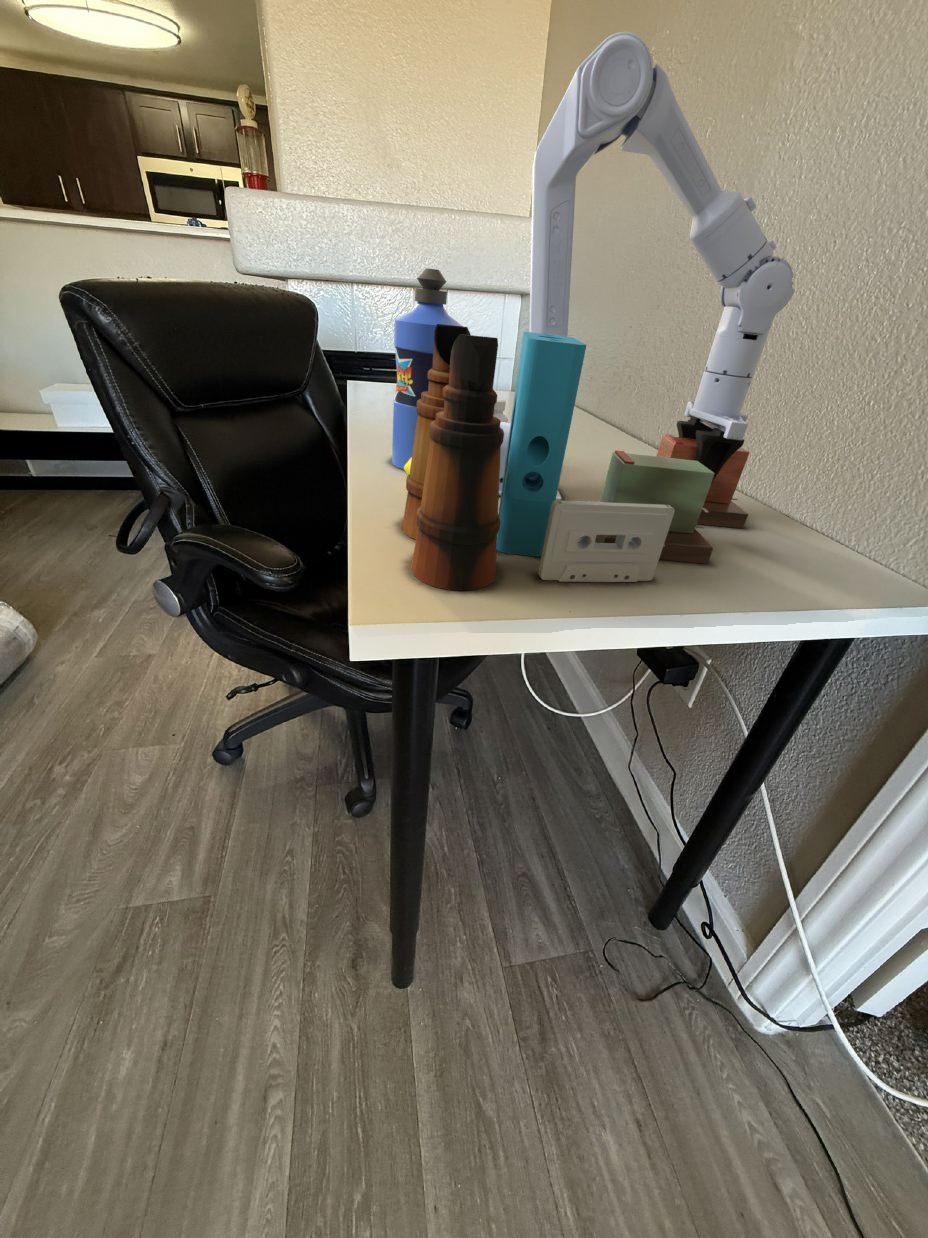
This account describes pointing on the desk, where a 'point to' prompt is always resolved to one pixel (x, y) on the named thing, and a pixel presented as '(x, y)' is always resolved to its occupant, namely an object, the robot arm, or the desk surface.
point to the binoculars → (456, 465)
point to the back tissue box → (724, 480)
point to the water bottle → (415, 358)
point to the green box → (659, 485)
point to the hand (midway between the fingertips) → (692, 481)
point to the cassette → (604, 562)
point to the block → (537, 439)
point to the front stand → (677, 546)
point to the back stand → (722, 515)
